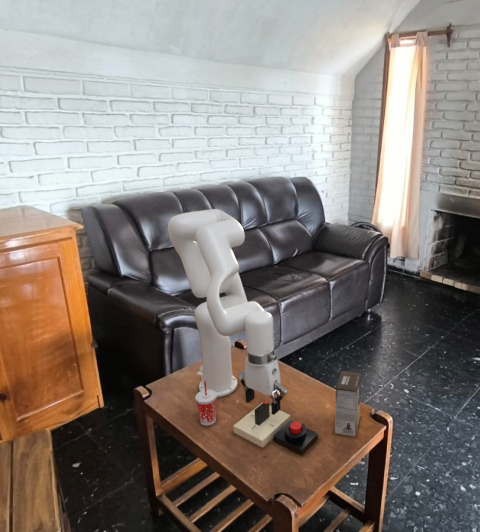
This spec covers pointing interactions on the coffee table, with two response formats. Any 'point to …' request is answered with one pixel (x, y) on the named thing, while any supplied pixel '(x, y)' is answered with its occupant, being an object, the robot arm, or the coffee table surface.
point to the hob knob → (262, 413)
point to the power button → (295, 427)
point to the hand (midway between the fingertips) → (262, 406)
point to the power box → (295, 439)
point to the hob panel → (261, 427)
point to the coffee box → (348, 403)
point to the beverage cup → (206, 406)
